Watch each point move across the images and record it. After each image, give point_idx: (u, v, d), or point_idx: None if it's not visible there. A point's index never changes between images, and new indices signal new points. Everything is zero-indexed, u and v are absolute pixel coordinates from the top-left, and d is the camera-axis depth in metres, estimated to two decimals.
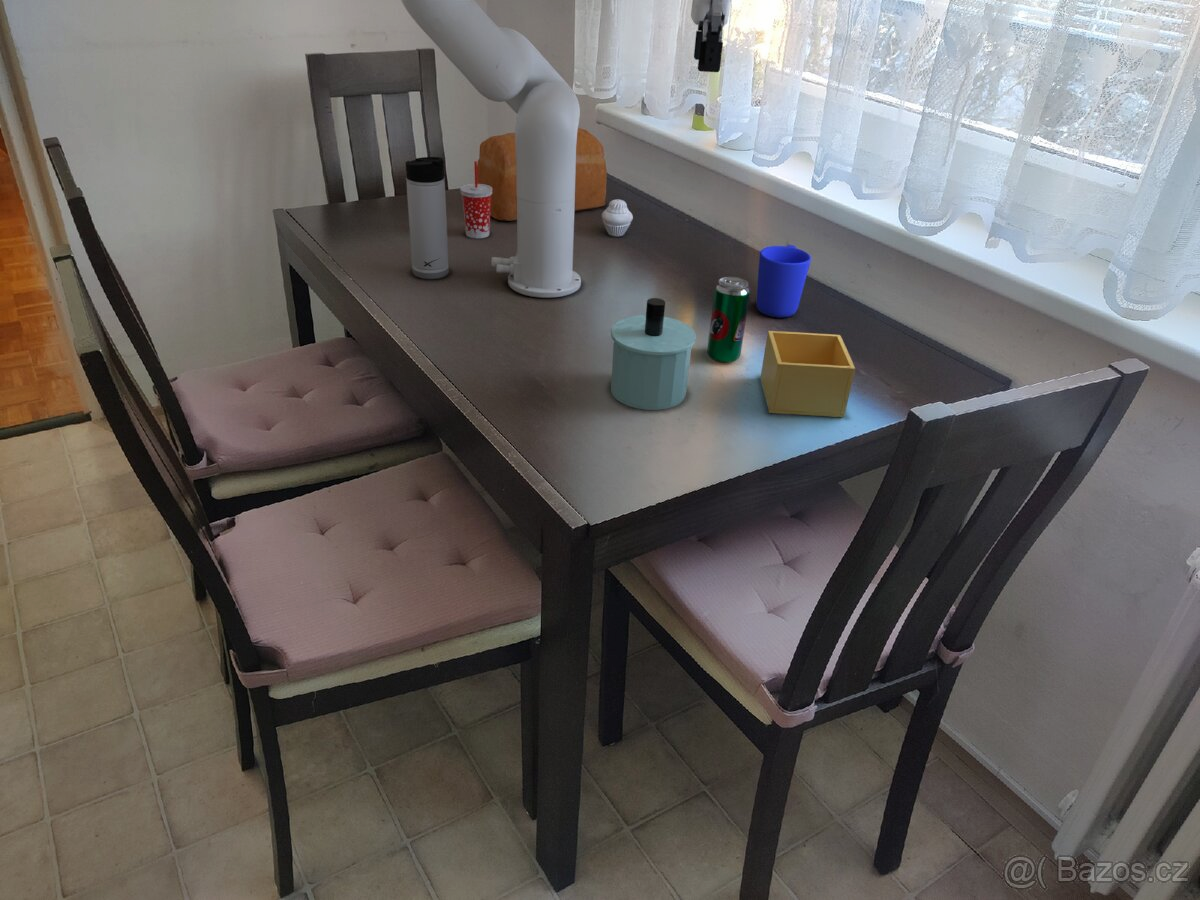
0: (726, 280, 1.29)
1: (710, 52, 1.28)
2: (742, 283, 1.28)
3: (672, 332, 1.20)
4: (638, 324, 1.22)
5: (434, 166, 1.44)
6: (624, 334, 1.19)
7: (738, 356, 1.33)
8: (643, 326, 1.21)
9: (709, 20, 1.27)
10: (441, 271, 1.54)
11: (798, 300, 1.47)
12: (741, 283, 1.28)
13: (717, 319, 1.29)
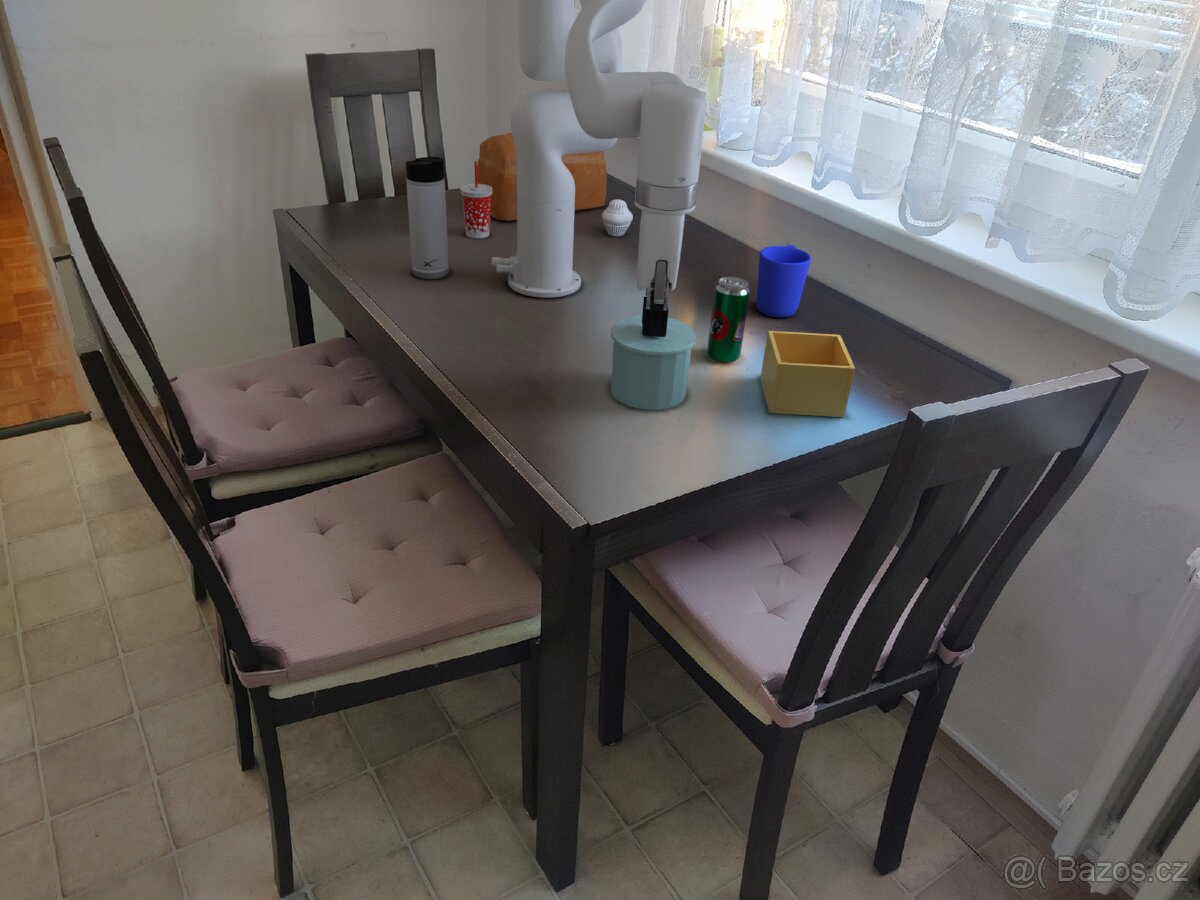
0: (726, 280, 1.29)
1: (655, 319, 1.16)
2: (742, 283, 1.28)
3: (672, 332, 1.20)
4: (638, 324, 1.22)
5: (434, 166, 1.44)
6: (624, 334, 1.19)
7: (738, 356, 1.33)
8: None
9: (653, 290, 1.13)
10: (441, 271, 1.54)
11: (798, 300, 1.47)
12: (741, 283, 1.28)
13: (717, 319, 1.29)
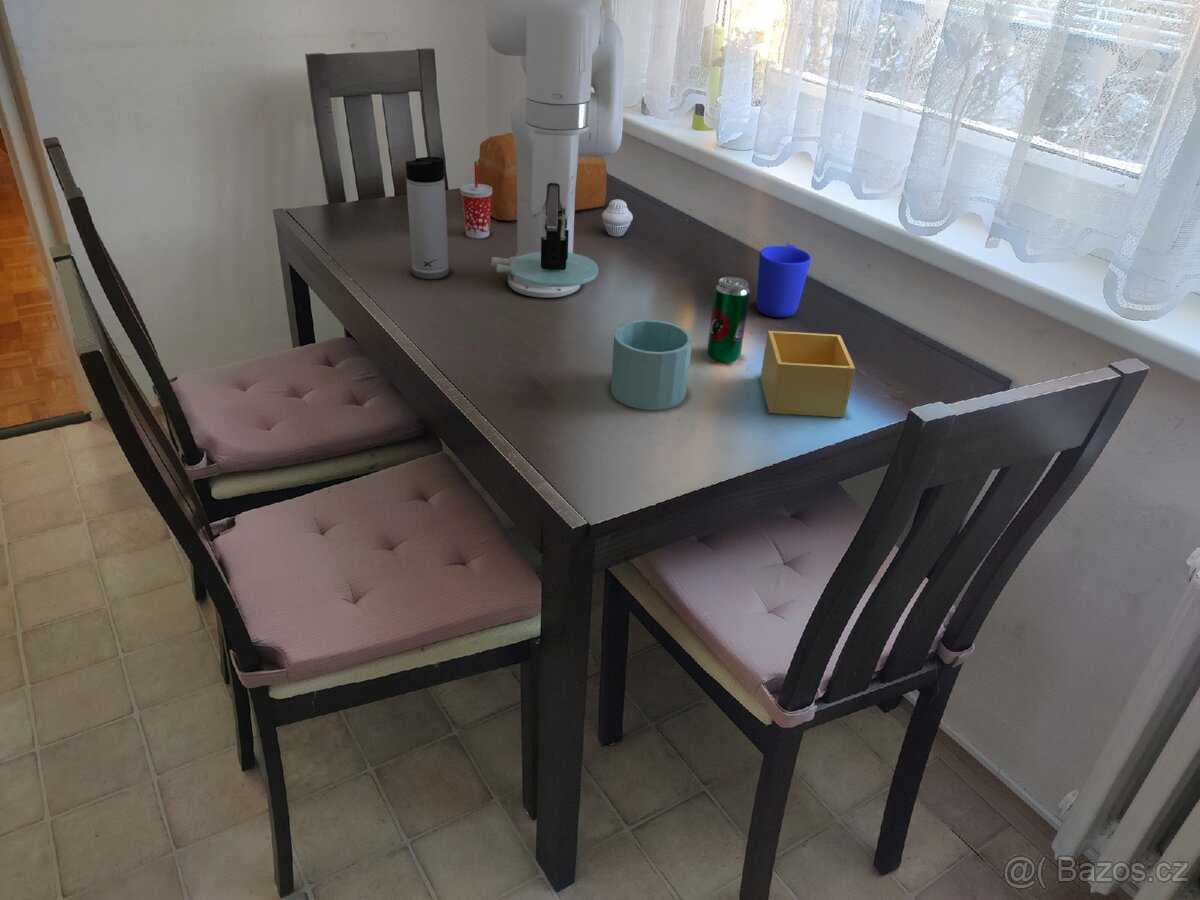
0: (726, 280, 1.29)
1: (552, 250, 1.11)
2: (742, 283, 1.28)
3: (574, 266, 1.15)
4: (540, 259, 1.17)
5: (434, 166, 1.44)
6: (523, 267, 1.14)
7: (738, 356, 1.33)
8: None
9: None
10: (441, 271, 1.54)
11: (798, 300, 1.47)
12: (741, 283, 1.28)
13: (717, 319, 1.29)
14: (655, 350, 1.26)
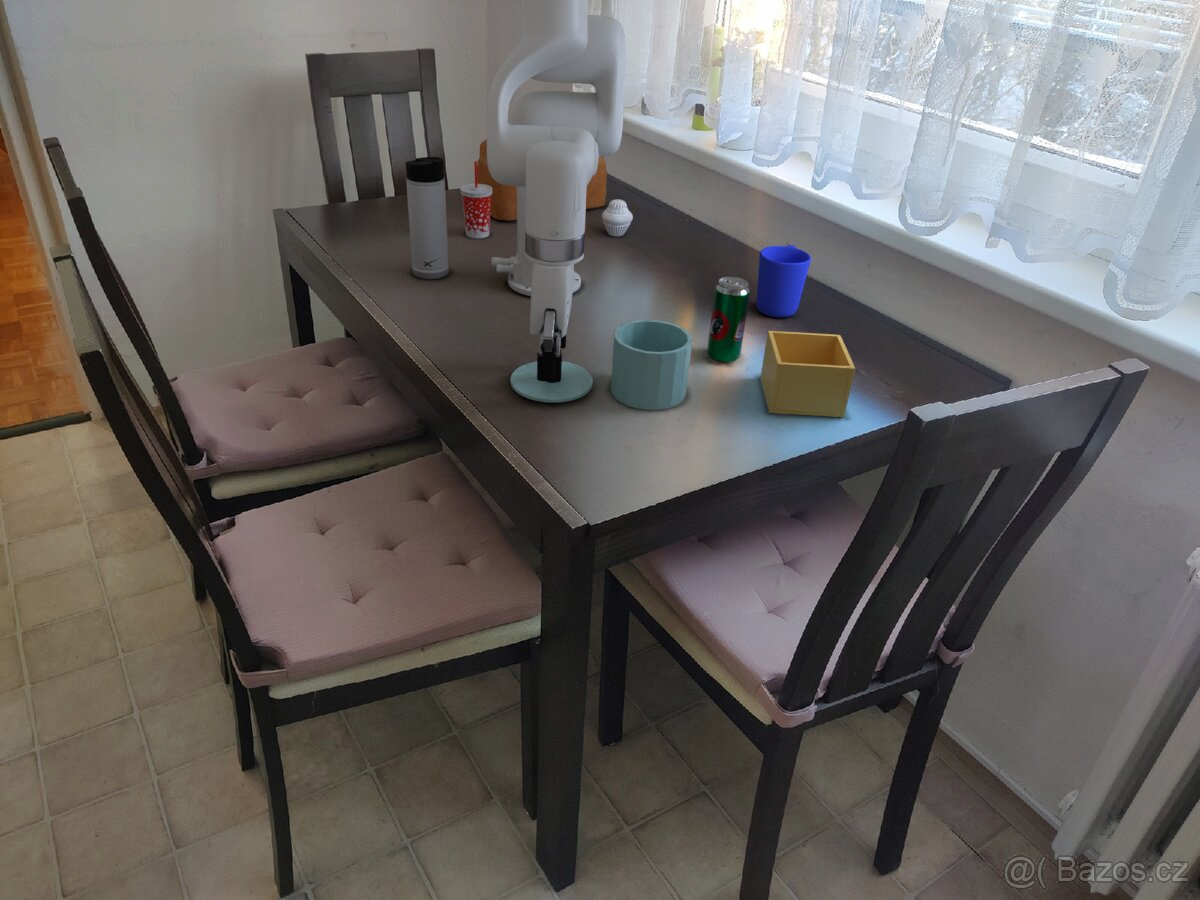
0: (726, 280, 1.29)
1: (548, 366, 1.17)
2: (742, 283, 1.28)
3: (570, 378, 1.24)
4: None
5: (434, 166, 1.44)
6: (522, 380, 1.23)
7: (738, 356, 1.33)
8: None
9: None
10: (441, 271, 1.54)
11: (798, 300, 1.47)
12: (741, 283, 1.28)
13: (717, 319, 1.29)
14: (655, 350, 1.26)
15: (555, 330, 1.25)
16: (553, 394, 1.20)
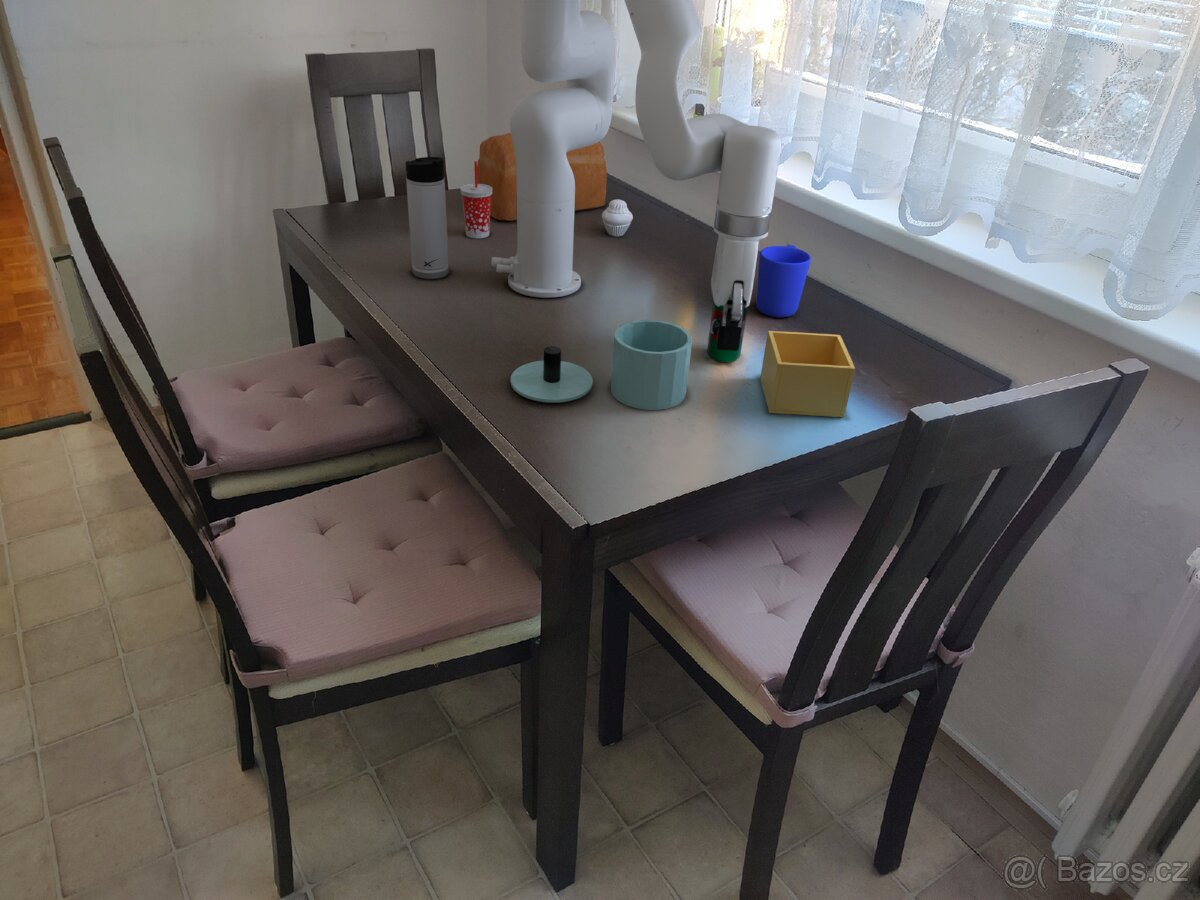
0: None
1: (729, 335, 1.28)
2: None
3: (570, 378, 1.24)
4: (538, 370, 1.26)
5: (434, 166, 1.44)
6: (522, 380, 1.23)
7: (738, 356, 1.33)
8: (543, 372, 1.25)
9: (729, 306, 1.26)
10: (441, 271, 1.54)
11: (798, 300, 1.47)
12: None
13: (717, 319, 1.29)
14: (655, 350, 1.26)
15: None
16: (553, 394, 1.20)
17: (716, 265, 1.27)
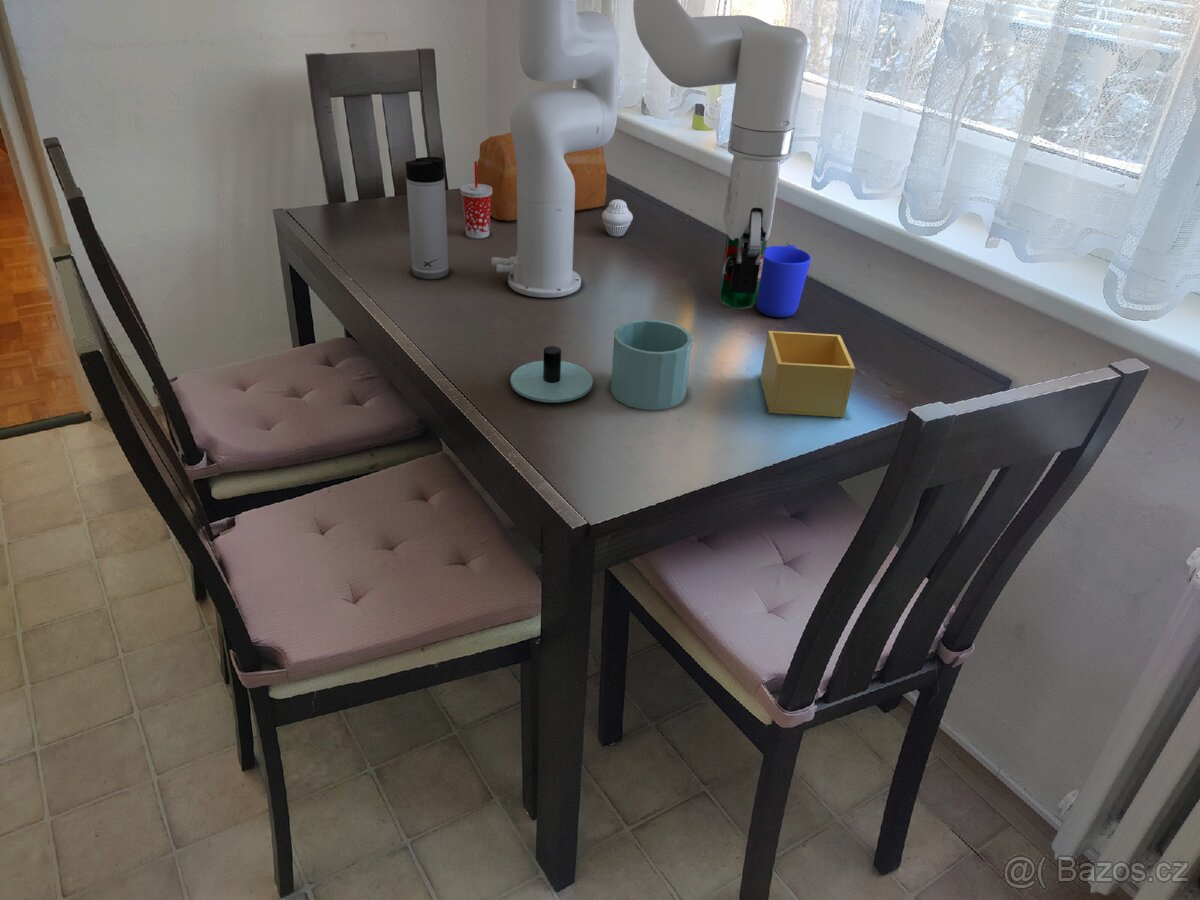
0: None
1: (745, 274, 1.12)
2: None
3: (570, 378, 1.24)
4: (538, 370, 1.26)
5: (434, 166, 1.44)
6: (522, 380, 1.23)
7: (755, 301, 1.16)
8: (543, 372, 1.25)
9: (745, 241, 1.10)
10: (441, 271, 1.54)
11: (798, 300, 1.47)
12: None
13: (732, 256, 1.13)
14: (655, 350, 1.26)
15: None
16: (553, 394, 1.20)
17: (730, 193, 1.10)
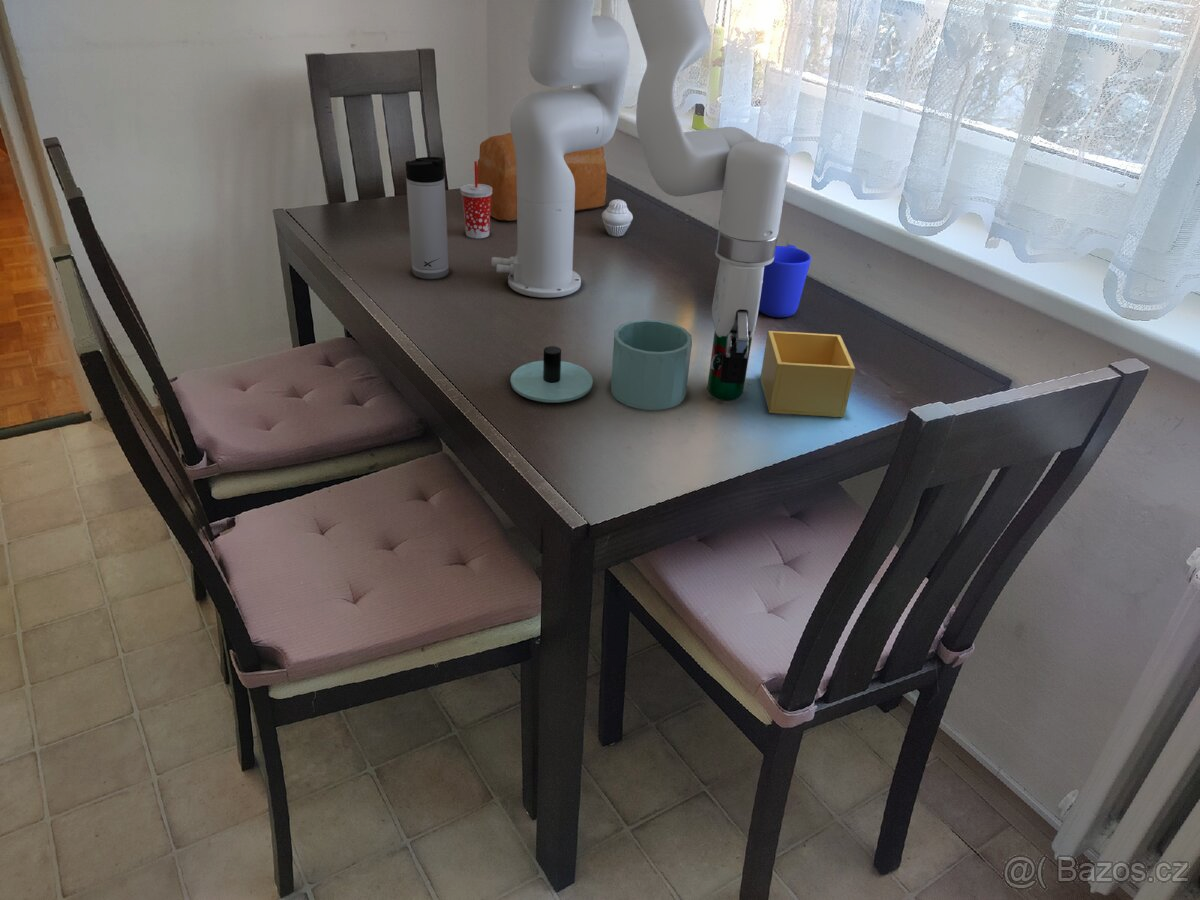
0: None
1: (734, 367, 1.16)
2: None
3: (570, 378, 1.24)
4: (538, 370, 1.26)
5: (434, 166, 1.44)
6: (522, 380, 1.23)
7: (741, 393, 1.23)
8: (543, 372, 1.25)
9: (733, 335, 1.15)
10: (441, 271, 1.54)
11: (798, 300, 1.47)
12: None
13: (719, 354, 1.20)
14: (655, 350, 1.26)
15: None
16: (553, 394, 1.20)
17: (718, 292, 1.17)
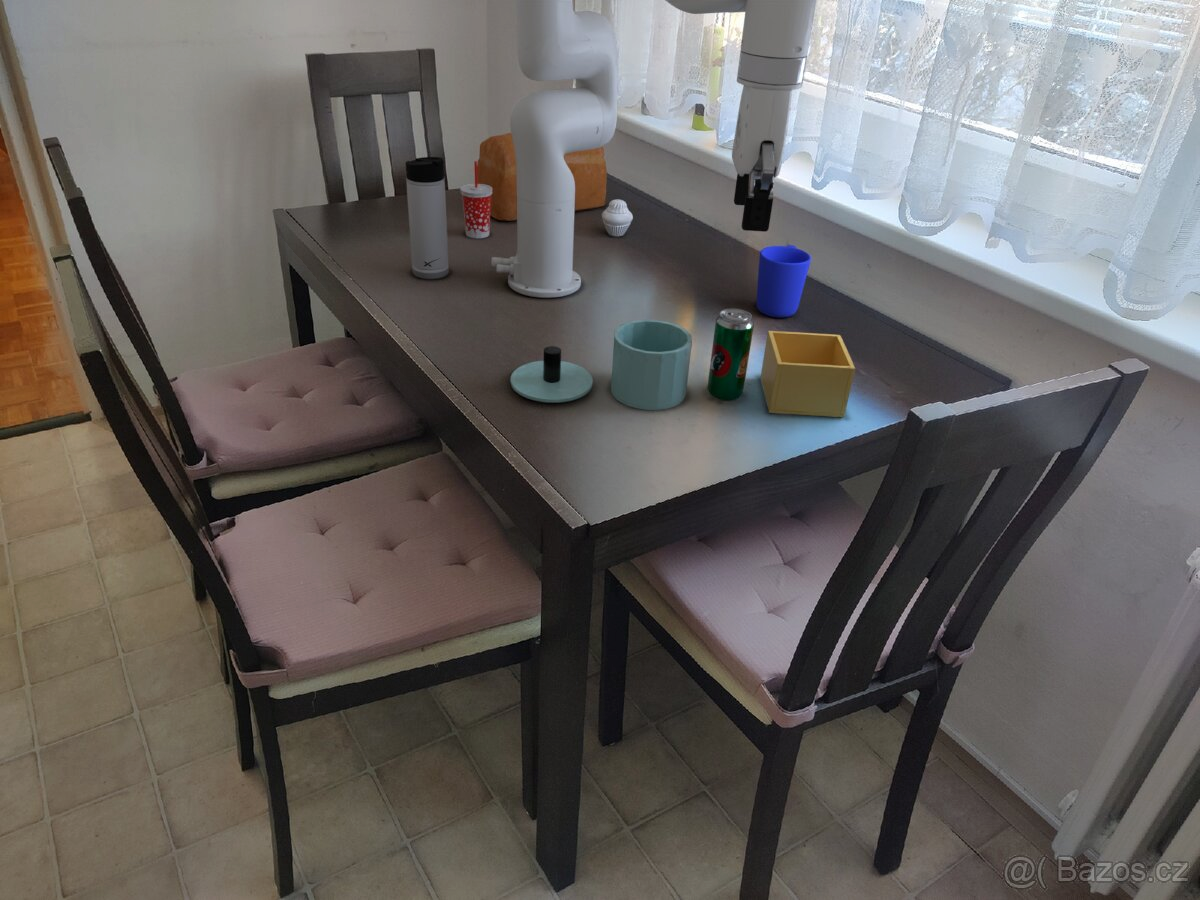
0: (728, 312, 1.19)
1: (758, 210, 1.05)
2: (745, 316, 1.19)
3: (570, 378, 1.24)
4: (538, 370, 1.26)
5: (434, 166, 1.44)
6: (522, 380, 1.23)
7: (741, 393, 1.23)
8: (543, 372, 1.25)
9: (757, 172, 1.04)
10: (441, 271, 1.54)
11: (798, 300, 1.47)
12: (744, 316, 1.19)
13: (719, 354, 1.20)
14: (655, 350, 1.26)
15: None
16: (553, 394, 1.20)
17: (739, 128, 1.05)
